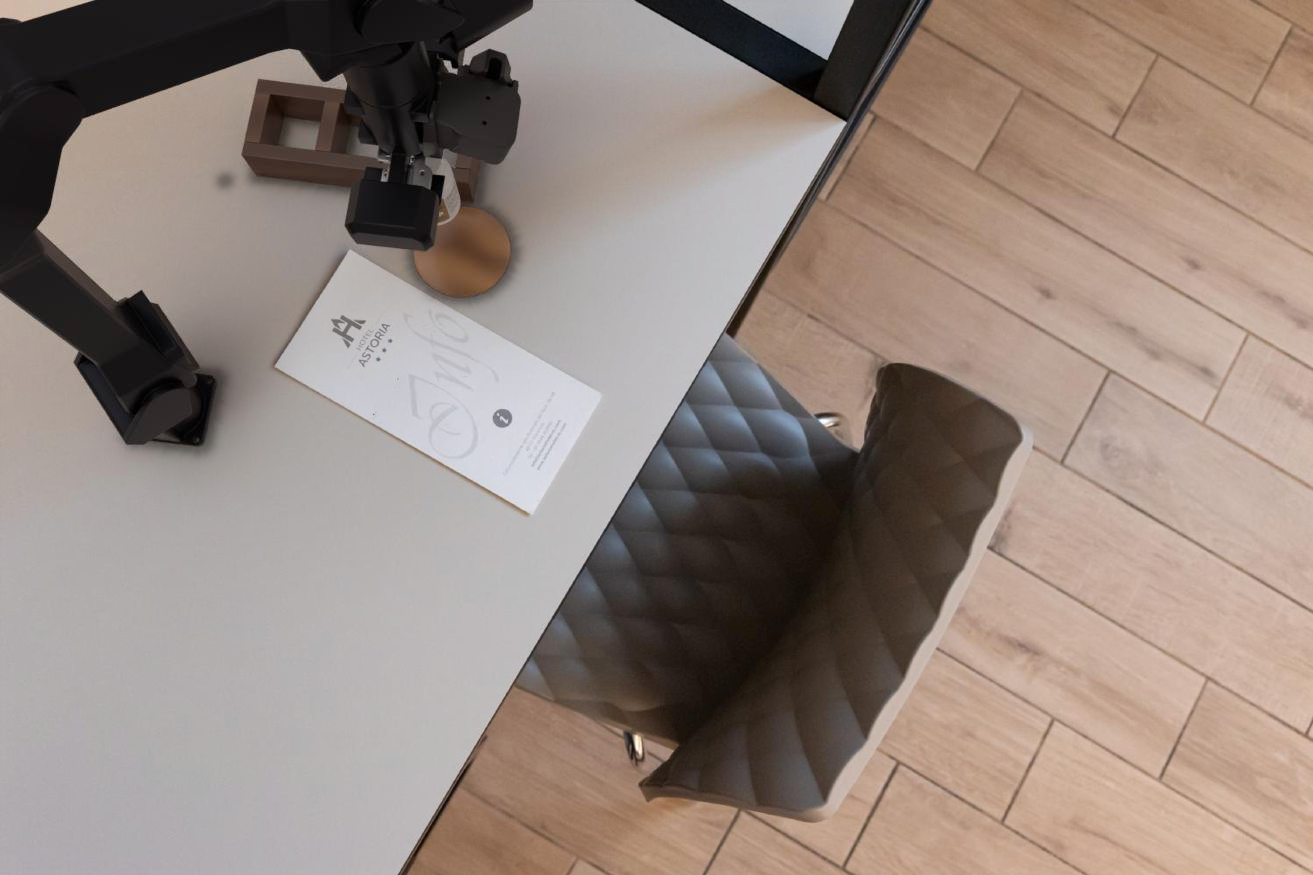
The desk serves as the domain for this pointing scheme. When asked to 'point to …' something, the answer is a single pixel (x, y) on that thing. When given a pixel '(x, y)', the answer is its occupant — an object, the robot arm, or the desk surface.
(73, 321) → the robot arm
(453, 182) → the pill bottle
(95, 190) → the desk surface
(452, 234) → the coaster
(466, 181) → the rack
